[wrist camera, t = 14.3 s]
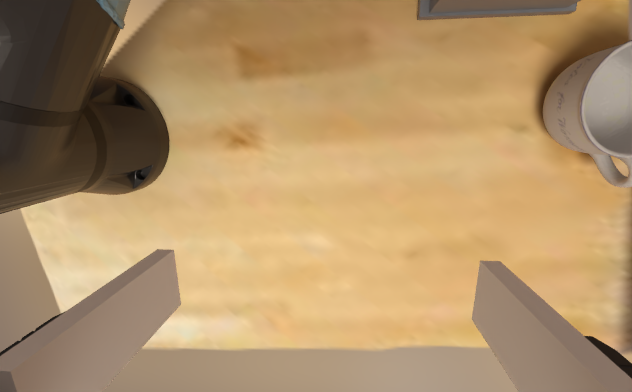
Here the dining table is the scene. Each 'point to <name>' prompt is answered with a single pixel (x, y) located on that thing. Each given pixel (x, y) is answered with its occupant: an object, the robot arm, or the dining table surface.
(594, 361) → the robot arm
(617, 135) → the teacup
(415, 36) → the dining table surface
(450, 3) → the bracket
